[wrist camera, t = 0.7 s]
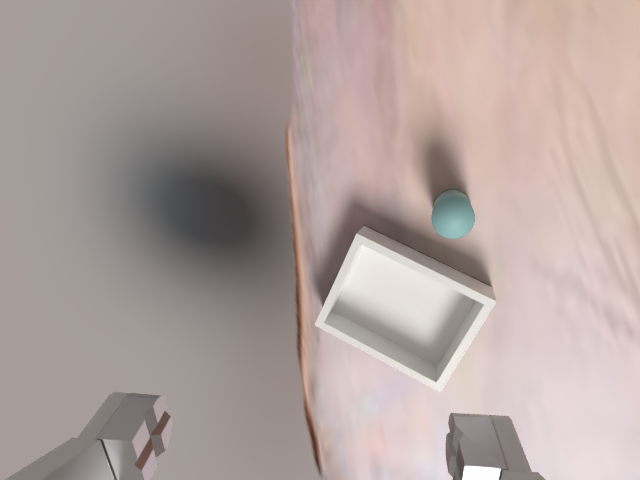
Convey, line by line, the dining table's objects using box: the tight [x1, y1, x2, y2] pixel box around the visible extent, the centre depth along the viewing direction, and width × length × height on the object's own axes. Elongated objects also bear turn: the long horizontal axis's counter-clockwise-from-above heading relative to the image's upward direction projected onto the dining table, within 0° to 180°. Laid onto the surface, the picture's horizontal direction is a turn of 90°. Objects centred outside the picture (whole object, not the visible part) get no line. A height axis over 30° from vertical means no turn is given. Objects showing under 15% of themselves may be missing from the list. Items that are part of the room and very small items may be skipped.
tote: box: [315, 226, 497, 392], centre depth 54 cm, size 14×18×5 cm
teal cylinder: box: [432, 190, 475, 239], centre depth 48 cm, size 4×4×8 cm
